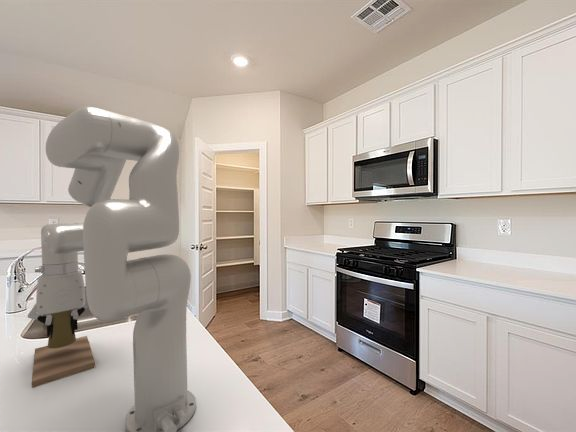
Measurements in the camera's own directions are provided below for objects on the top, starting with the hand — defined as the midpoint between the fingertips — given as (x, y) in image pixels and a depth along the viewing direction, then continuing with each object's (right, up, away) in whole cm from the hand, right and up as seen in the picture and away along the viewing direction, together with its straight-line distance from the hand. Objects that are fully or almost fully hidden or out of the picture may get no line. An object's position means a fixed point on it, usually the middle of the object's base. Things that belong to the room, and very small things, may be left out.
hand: (62, 334), depth 76 cm
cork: (0, -2, 0) cm, 2 cm away
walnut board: (+1, -7, -1) cm, 7 cm away
